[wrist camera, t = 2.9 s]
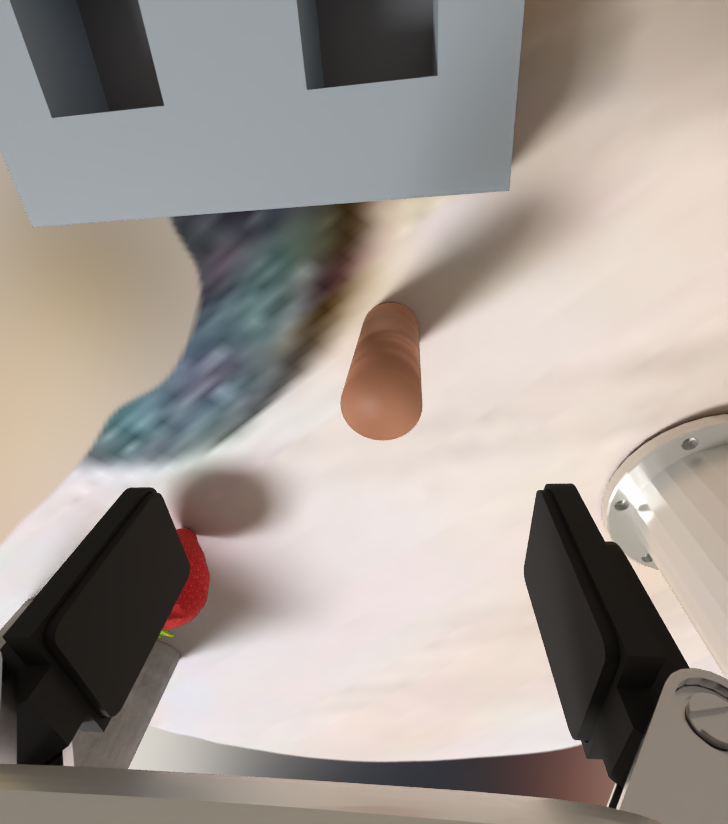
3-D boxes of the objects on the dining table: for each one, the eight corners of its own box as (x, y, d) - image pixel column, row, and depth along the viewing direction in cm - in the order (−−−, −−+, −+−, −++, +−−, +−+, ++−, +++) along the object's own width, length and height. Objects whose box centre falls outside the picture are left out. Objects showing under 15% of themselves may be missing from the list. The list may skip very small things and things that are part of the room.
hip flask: (24, 612, 43) (-239, 915, 25) (25, 590, 41) (-258, 901, 23) (176, 664, 45) (31, 976, 28) (185, 645, 43) (34, 968, 26)
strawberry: (143, 489, 33) (47, 605, 24) (239, 518, 33) (179, 642, 25) (140, 540, 36) (53, 660, 27) (228, 565, 36) (170, 691, 28)
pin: (418, 300, 24) (421, 367, 16) (418, 355, 25) (422, 439, 17) (360, 303, 24) (336, 369, 16) (364, 356, 25) (344, 440, 18)
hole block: (512, -212, 15) (555, -372, 10) (488, 185, 20) (509, 190, 16) (-10, -116, 17) (-153, -212, 13) (104, 215, 23) (32, 227, 18)
